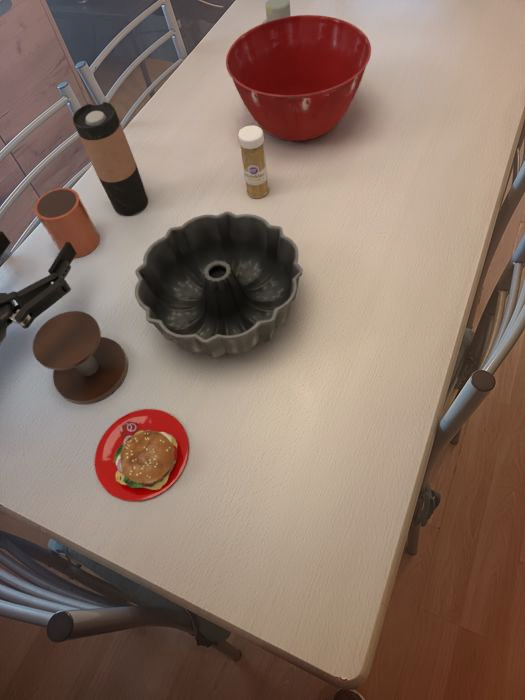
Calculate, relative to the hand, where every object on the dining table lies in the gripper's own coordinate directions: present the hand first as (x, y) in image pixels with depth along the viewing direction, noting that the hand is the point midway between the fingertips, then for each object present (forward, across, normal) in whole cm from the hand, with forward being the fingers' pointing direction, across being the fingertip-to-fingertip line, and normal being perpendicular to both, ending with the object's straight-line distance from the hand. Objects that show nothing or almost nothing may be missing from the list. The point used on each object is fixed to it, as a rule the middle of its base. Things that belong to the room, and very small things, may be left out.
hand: (37, 241), depth 87 cm
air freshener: (+82, -22, +9) cm, 85 cm away
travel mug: (+20, -6, +9) cm, 23 cm away
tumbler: (+8, 0, +8) cm, 12 cm away
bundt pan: (-1, -34, +8) cm, 35 cm away
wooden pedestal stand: (-18, -16, +8) cm, 26 cm away
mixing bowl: (+51, -34, +9) cm, 62 cm away
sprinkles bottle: (+28, -31, +8) cm, 43 cm away
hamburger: (-29, -30, +8) cm, 43 cm away
